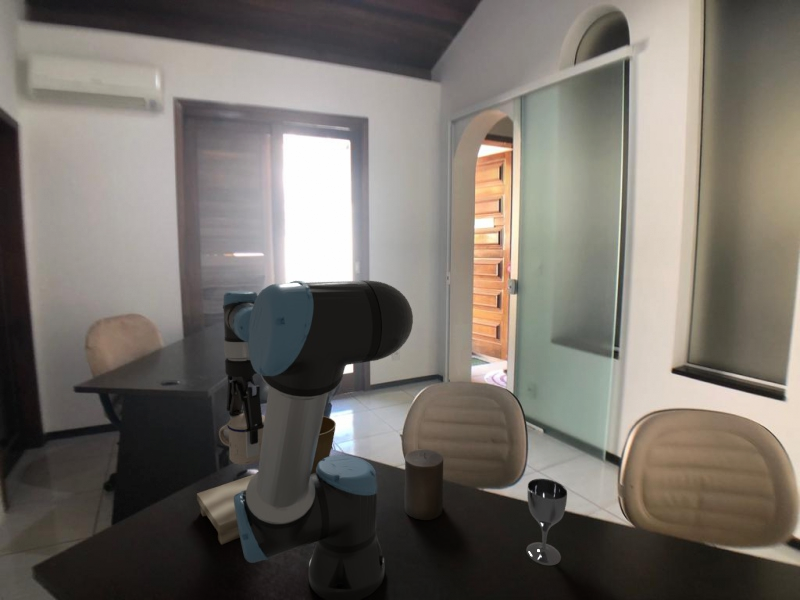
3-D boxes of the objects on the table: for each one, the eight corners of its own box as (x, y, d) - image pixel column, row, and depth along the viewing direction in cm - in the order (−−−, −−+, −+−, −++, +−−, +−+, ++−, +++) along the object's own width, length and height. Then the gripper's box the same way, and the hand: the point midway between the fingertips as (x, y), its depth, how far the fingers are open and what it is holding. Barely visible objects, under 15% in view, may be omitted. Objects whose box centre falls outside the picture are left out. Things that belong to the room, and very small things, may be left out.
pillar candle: (449, 515, 106) (451, 457, 105) (414, 524, 102) (415, 464, 101) (430, 495, 115) (432, 441, 114) (397, 503, 111) (398, 447, 109)
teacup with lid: (274, 449, 108) (273, 405, 107) (257, 467, 99) (256, 419, 98) (230, 445, 110) (229, 401, 109) (209, 462, 101) (207, 415, 100)
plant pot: (299, 499, 112) (298, 440, 110) (272, 476, 123) (271, 423, 121) (346, 479, 122) (346, 425, 120) (317, 460, 133) (317, 410, 131)
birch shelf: (295, 514, 105) (295, 495, 105) (219, 547, 94) (219, 525, 93) (267, 487, 117) (267, 469, 117) (197, 512, 106) (196, 493, 105)
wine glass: (537, 570, 88) (541, 501, 87) (517, 544, 96) (520, 481, 94) (571, 563, 90) (575, 496, 89) (548, 538, 98) (552, 476, 96)
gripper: (277, 364, 95) (279, 460, 98) (240, 346, 112) (243, 429, 114) (244, 369, 90) (246, 471, 93) (210, 350, 107) (213, 437, 109)
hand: (244, 448), depth 104 cm, fingers closed on teacup with lid, 9 cm apart
